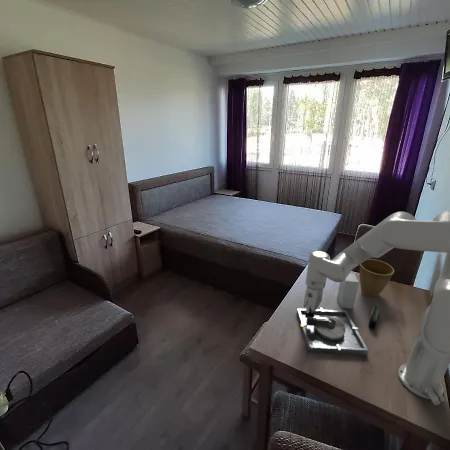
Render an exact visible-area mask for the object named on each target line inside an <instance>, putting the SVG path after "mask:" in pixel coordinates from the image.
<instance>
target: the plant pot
mask: <svg viewBox="0 0 450 450" xmlns="http://www.w3.org/2000/svg"><path fill="white" fill-rule="evenodd" d="M394 274H395V269H394V268H393V267H392V266H391V264H388V263H387V262H384V261H382V260H379V259H376V258H369V259H367V260H365V261H364V262H362V263H361V264H359V283H360V289H361V292H362V294H363V295H365V296H366V297H369V298H377V297H378V296H379V295H380V294H381V293H382V292H383V291H384V289H385V288H386V286H387V285H388V284H389V282H390V280H391V278H392V276H393V275H394Z"/></svg>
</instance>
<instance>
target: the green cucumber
mask: <svg viewBox="0 0 450 450" xmlns="http://www.w3.org/2000/svg"><path fill="white" fill-rule="evenodd" d="M380 307H381V306H379V305H377V304H374V305H373V307H372V309H371V312H370V315H369V321H368V326H367V327H368V329H370V330H373V331H375V330H376V326H377V322H378V318H379V314H380V312H381V308H380Z"/></svg>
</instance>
